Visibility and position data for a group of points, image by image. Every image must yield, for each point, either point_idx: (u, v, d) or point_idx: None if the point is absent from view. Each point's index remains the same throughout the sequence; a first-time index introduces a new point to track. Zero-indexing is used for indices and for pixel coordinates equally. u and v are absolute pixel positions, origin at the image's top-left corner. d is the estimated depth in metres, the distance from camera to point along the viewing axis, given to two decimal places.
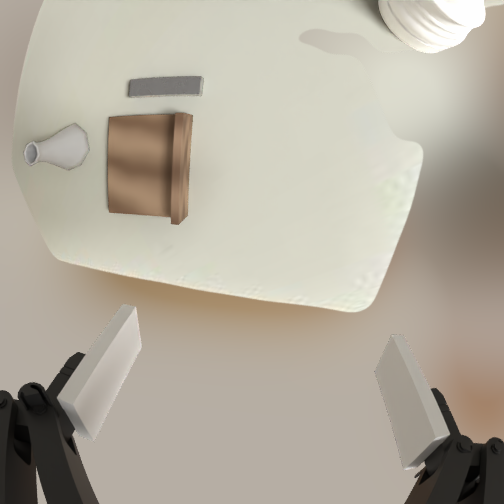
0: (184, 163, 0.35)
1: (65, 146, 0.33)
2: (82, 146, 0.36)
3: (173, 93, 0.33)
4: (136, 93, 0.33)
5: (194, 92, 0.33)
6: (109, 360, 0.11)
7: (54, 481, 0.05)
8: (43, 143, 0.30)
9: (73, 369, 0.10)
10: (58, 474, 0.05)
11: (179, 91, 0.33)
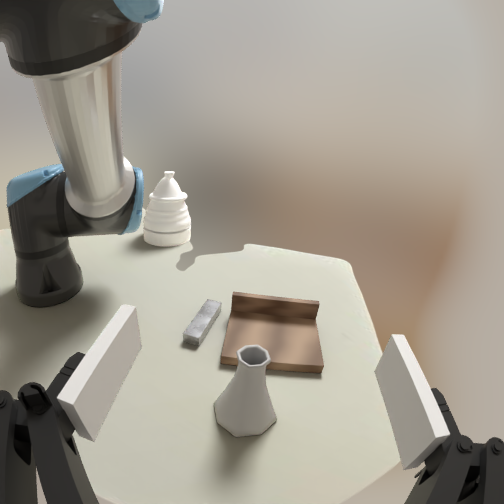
0: None
1: None
2: None
3: (213, 313, 0.46)
4: (199, 332, 0.41)
5: (218, 304, 0.49)
6: (109, 360, 0.11)
7: (54, 481, 0.05)
8: None
9: (73, 369, 0.10)
10: (58, 474, 0.05)
11: (213, 310, 0.47)
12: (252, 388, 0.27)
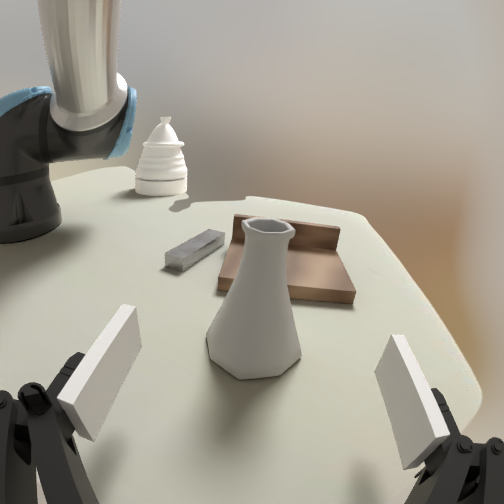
0: None
1: None
2: None
3: (211, 240, 0.37)
4: (185, 254, 0.33)
5: (220, 233, 0.40)
6: (109, 360, 0.11)
7: (54, 481, 0.05)
8: None
9: (73, 369, 0.10)
10: (58, 474, 0.05)
11: (212, 237, 0.38)
12: (267, 284, 0.18)
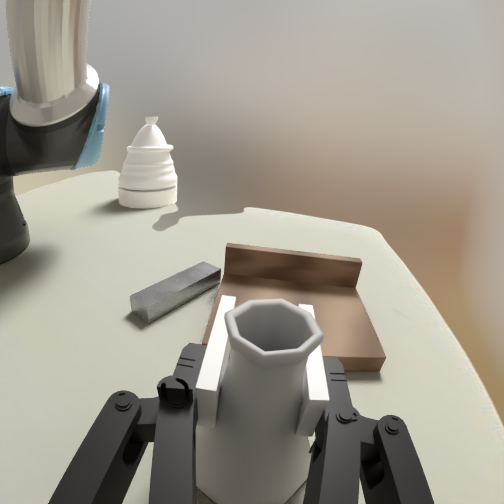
0: None
1: None
2: None
3: (197, 280, 0.28)
4: (154, 300, 0.24)
5: (215, 270, 0.31)
6: (226, 347, 0.13)
7: (168, 478, 0.06)
8: None
9: (191, 359, 0.12)
10: (176, 472, 0.06)
11: (201, 276, 0.29)
12: (269, 416, 0.10)
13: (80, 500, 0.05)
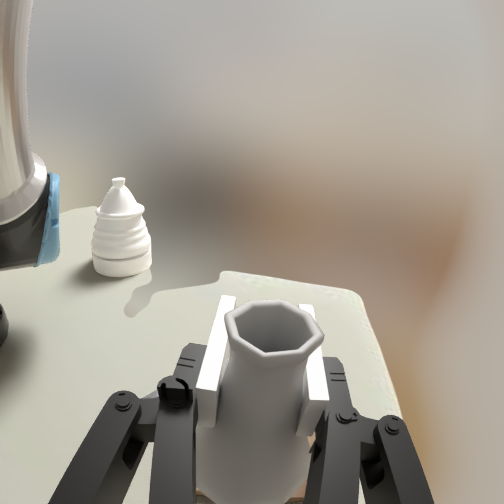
0: None
1: None
2: None
3: None
4: None
5: None
6: (226, 347, 0.13)
7: (168, 478, 0.06)
8: None
9: (191, 359, 0.12)
10: (176, 472, 0.06)
11: None
12: (269, 417, 0.09)
13: (80, 500, 0.05)
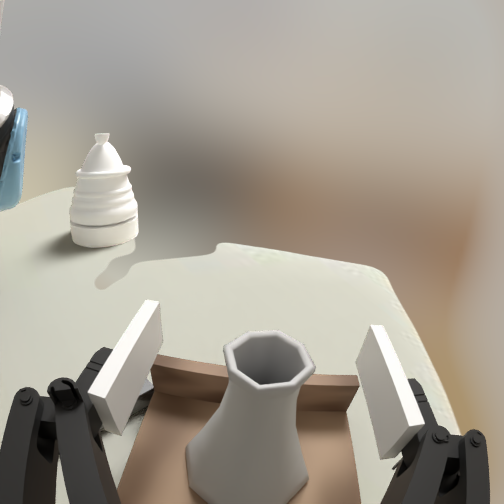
0: None
1: None
2: None
3: None
4: None
5: (145, 388, 0.19)
6: (136, 354, 0.11)
7: (78, 478, 0.05)
8: None
9: (100, 364, 0.10)
10: (83, 471, 0.06)
11: None
12: (265, 436, 0.10)
13: (14, 495, 0.04)
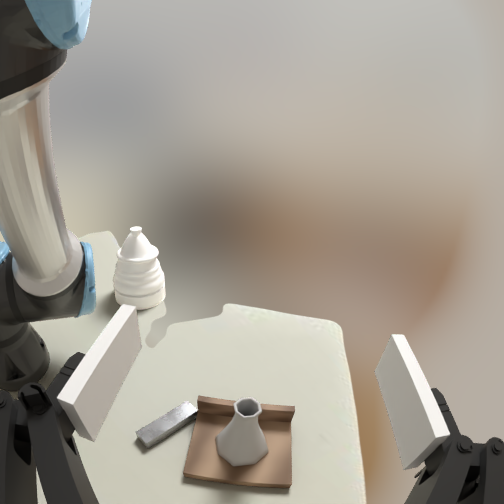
0: None
1: None
2: None
3: (180, 421, 0.37)
4: (150, 437, 0.33)
5: (193, 411, 0.39)
6: (109, 360, 0.11)
7: (54, 481, 0.05)
8: (237, 411, 0.32)
9: (73, 369, 0.10)
10: (58, 474, 0.05)
11: (182, 417, 0.37)
12: (247, 431, 0.30)
13: None
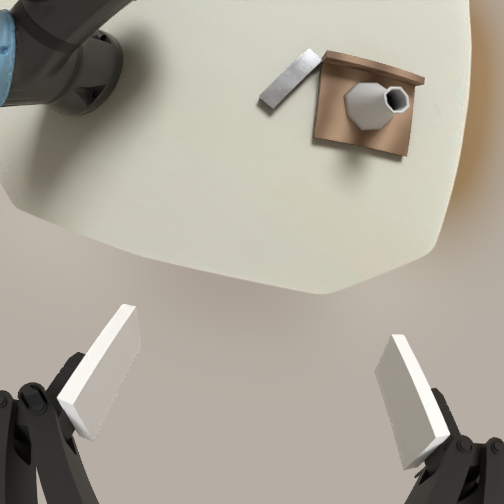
0: None
1: (379, 87, 0.29)
2: (374, 83, 0.32)
3: (304, 75, 0.33)
4: (276, 100, 0.35)
5: (317, 61, 0.32)
6: (109, 360, 0.11)
7: (54, 481, 0.05)
8: (381, 93, 0.27)
9: (73, 369, 0.10)
10: (58, 474, 0.05)
11: (307, 70, 0.33)
12: (387, 113, 0.29)
13: None
